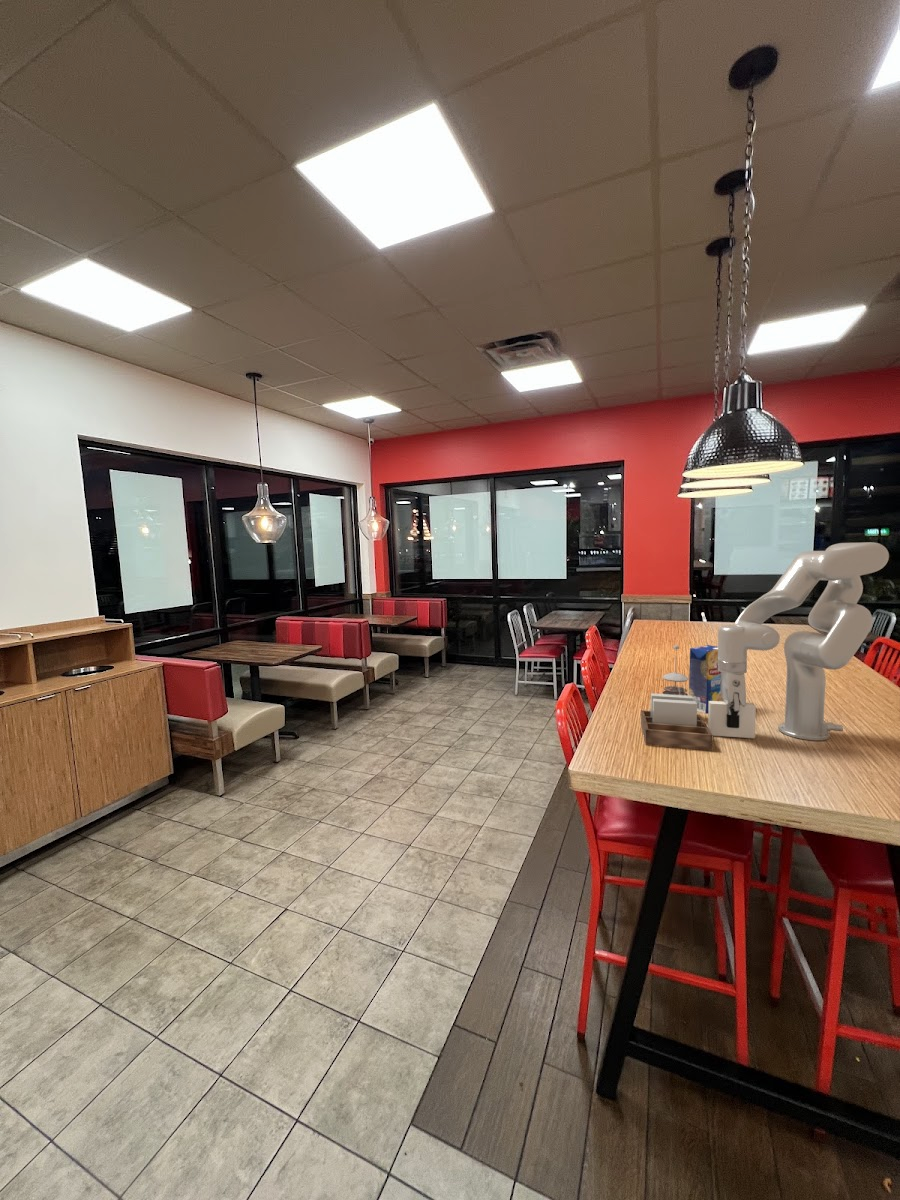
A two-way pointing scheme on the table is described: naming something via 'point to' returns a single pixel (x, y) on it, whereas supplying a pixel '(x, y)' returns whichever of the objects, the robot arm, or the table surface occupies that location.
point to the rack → (676, 734)
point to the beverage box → (704, 676)
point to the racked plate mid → (674, 712)
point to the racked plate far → (669, 698)
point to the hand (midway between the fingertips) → (731, 724)
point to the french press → (675, 678)
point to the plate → (719, 720)
